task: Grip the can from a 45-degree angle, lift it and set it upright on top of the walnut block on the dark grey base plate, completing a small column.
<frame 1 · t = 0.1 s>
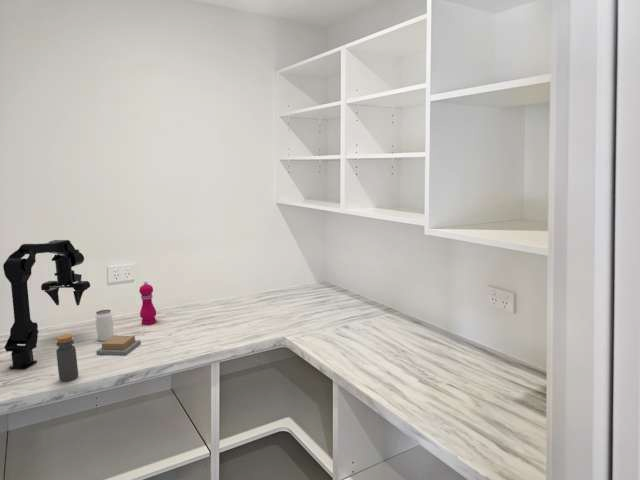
hand: (67, 305, 197), 15 cm above the worktop, tool pointing down, fingers open, 9 cm apart
bottle: (69, 378, 160), on the worktop
plinth: (119, 349, 186), on the worktop
pepper mill: (148, 323, 217), on the worktop
can: (106, 339, 198), on the worktop
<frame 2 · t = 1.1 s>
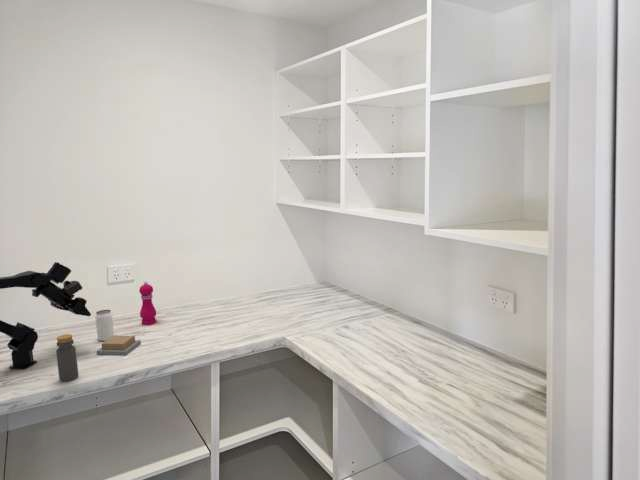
hand: (84, 313, 189), 13 cm above the worktop, tool tilted 45°, fingers open, 9 cm apart
nothing on the worktop moved.
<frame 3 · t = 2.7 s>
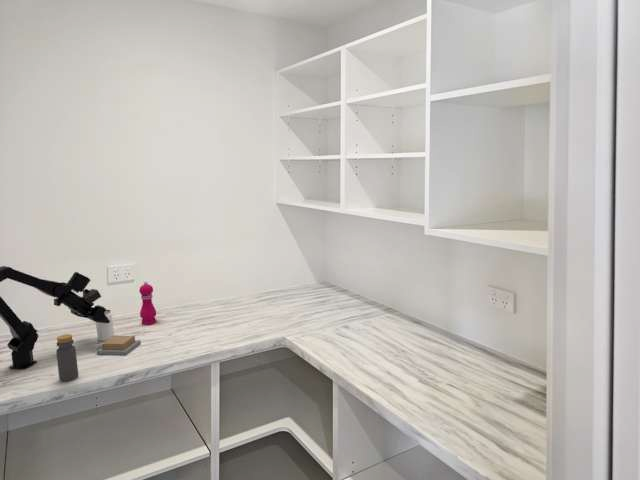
hand: (103, 320, 196), 8 cm above the worktop, tool tilted 45°, fingers open, 9 cm apart
nothing on the worktop moved.
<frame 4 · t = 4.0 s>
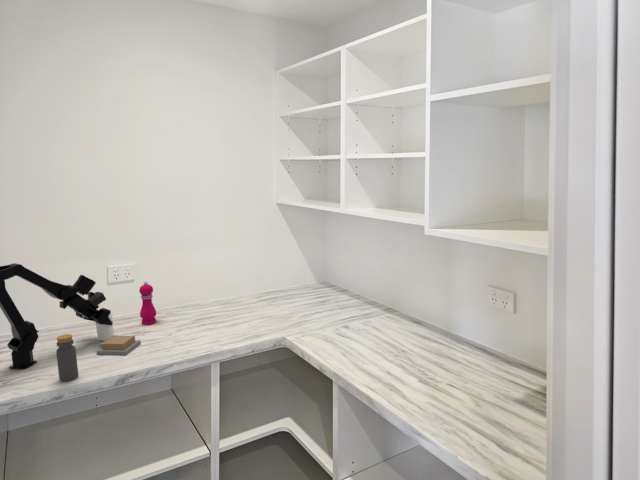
hand: (107, 322, 198), 7 cm above the worktop, tool tilted 45°, fingers closed on can, 6 cm apart
can: (106, 339, 198), on the worktop, touching gripper
everything else where it was.
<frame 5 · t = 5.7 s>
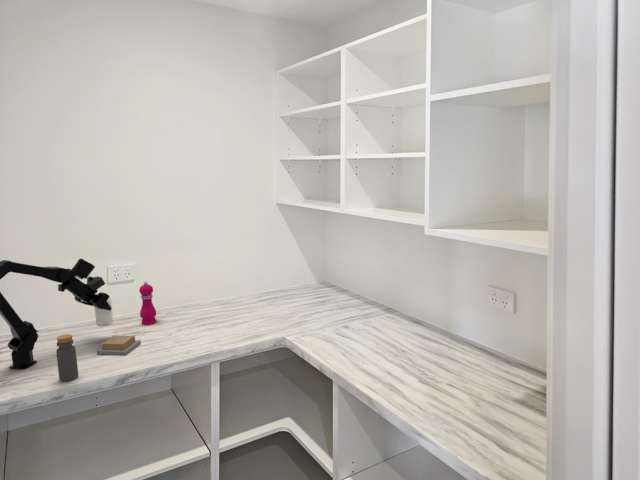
hand: (106, 308, 196), 13 cm above the worktop, tool tilted 45°, fingers closed on can, 6 cm apart
can: (104, 324, 196), point 6 cm above the worktop, touching gripper
everything else where it was.
when the fingers open (12 cm above the worktop, at t = 7.9 s): can drops 1 cm, resting on plinth.
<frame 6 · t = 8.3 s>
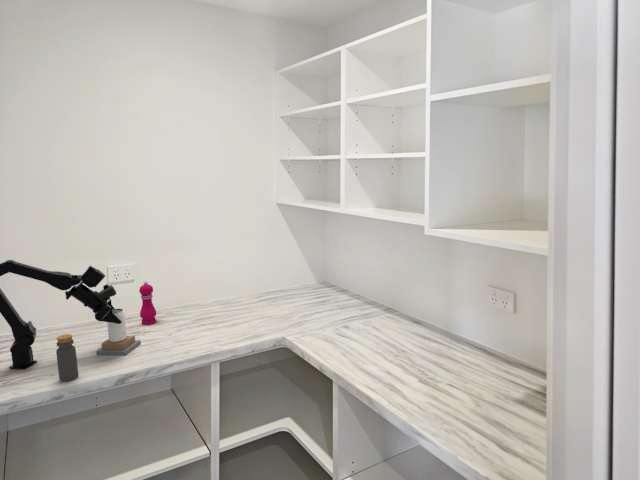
hand: (120, 319, 184), 12 cm above the worktop, tool tilted 45°, fingers open, 9 cm apart
can: (117, 340, 185), point 4 cm above the worktop, touching plinth
everything else where it was.
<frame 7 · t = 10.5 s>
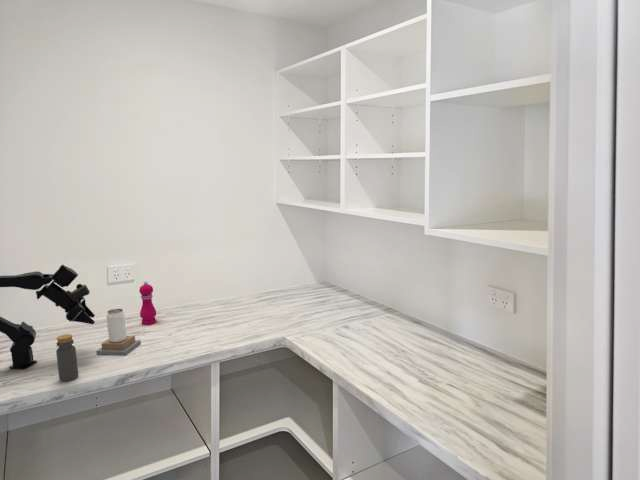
hand: (94, 319, 180), 14 cm above the worktop, tool tilted 45°, fingers open, 9 cm apart
nothing on the worktop moved.
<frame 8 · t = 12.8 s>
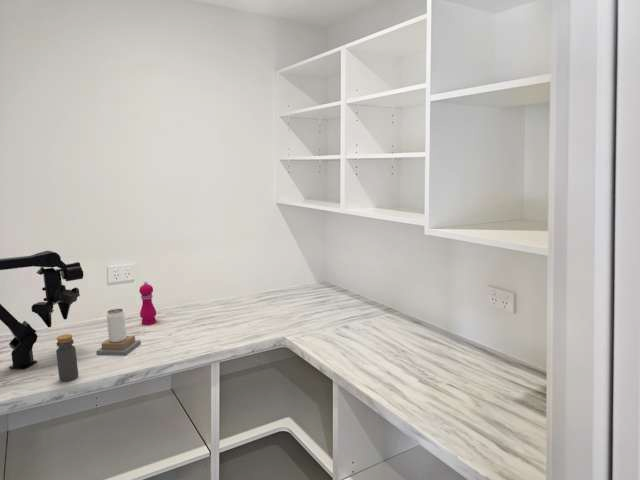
hand: (57, 323, 179), 13 cm above the worktop, tool pointing down, fingers open, 9 cm apart
nothing on the worktop moved.
at the end: can 0.4 cm off-centre on the plinth, point 3.8 cm above the plinth's base; can tilted 0°; the gripper is holding nothing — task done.
